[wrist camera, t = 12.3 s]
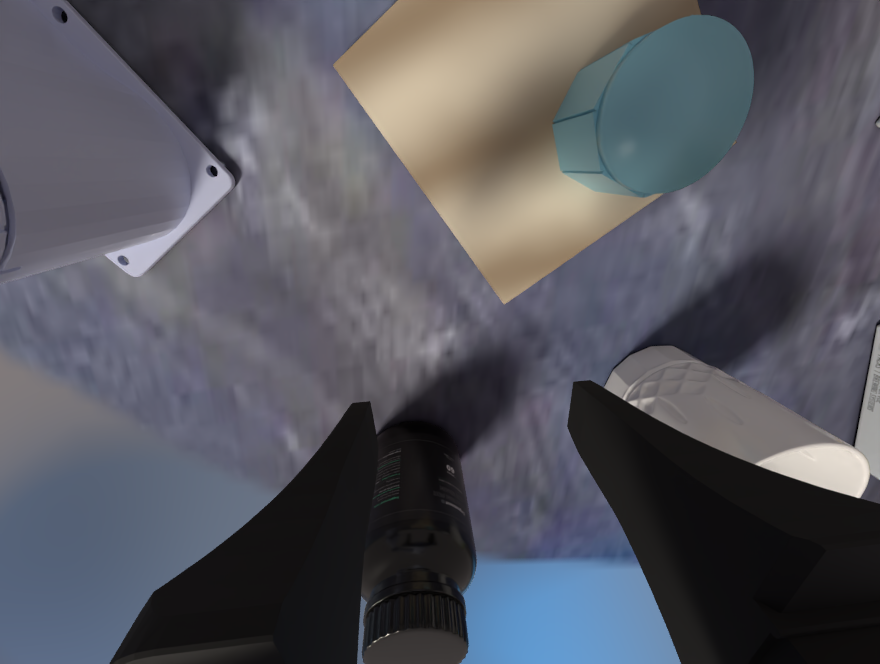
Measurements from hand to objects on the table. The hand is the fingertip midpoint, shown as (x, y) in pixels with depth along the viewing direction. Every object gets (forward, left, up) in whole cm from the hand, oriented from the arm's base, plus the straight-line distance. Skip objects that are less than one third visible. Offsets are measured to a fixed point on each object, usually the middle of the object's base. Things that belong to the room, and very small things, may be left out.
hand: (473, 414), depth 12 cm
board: (-6, +10, -10) cm, 15 cm away
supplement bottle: (+8, -9, -10) cm, 16 cm away
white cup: (+14, +8, -10) cm, 19 cm away
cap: (-3, +12, -9) cm, 15 cm away
